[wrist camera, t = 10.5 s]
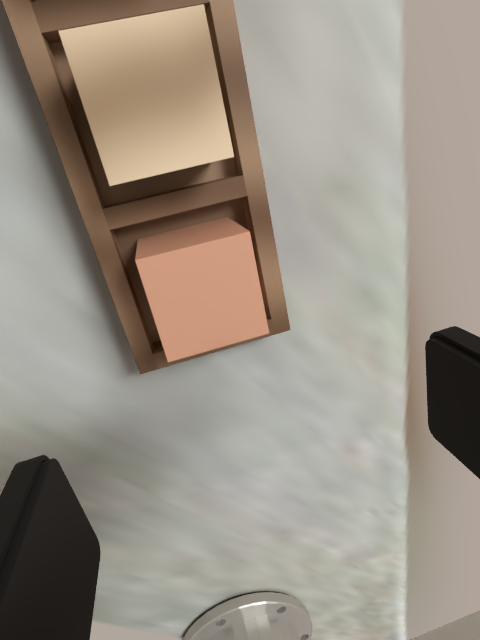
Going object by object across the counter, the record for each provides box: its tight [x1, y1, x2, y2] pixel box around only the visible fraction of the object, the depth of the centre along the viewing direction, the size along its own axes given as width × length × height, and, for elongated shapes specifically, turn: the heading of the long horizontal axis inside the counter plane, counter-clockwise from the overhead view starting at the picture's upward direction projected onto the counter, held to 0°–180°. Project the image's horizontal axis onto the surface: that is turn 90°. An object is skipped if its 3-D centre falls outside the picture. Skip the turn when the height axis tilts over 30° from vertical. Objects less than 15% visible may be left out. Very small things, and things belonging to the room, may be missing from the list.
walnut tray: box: [2, 0, 290, 374], centre depth 17 cm, size 25×9×6 cm, turn 12°
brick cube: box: [135, 217, 269, 362], centre depth 20 cm, size 5×5×5 cm
